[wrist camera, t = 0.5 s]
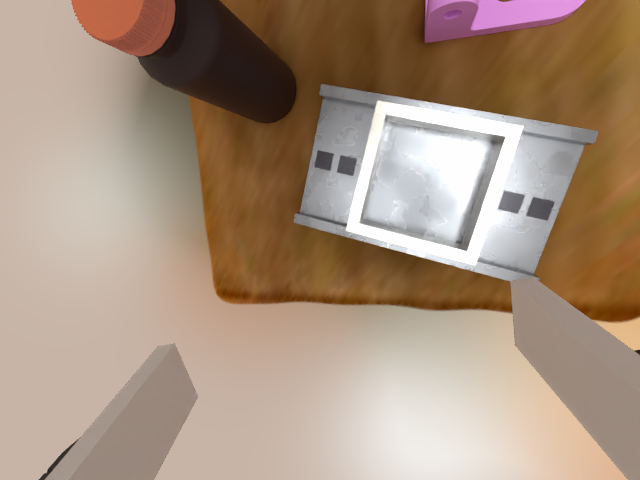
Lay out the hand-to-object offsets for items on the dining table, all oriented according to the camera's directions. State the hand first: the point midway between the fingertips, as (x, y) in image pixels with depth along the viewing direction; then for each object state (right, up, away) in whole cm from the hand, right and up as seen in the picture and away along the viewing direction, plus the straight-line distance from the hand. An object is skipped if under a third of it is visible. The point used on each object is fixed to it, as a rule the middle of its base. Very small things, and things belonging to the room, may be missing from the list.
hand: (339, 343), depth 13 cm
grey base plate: (+10, +10, +20) cm, 25 cm away
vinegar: (-6, +20, +23) cm, 31 cm away
